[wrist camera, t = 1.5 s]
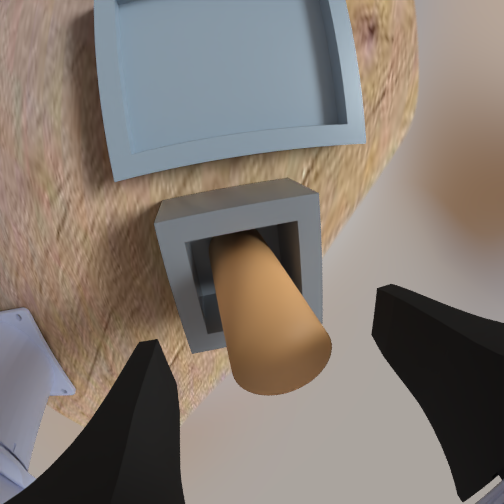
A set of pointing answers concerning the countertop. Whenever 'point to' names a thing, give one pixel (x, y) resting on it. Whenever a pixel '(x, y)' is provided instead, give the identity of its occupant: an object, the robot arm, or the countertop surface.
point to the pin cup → (229, 221)
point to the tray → (223, 79)
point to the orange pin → (264, 317)
